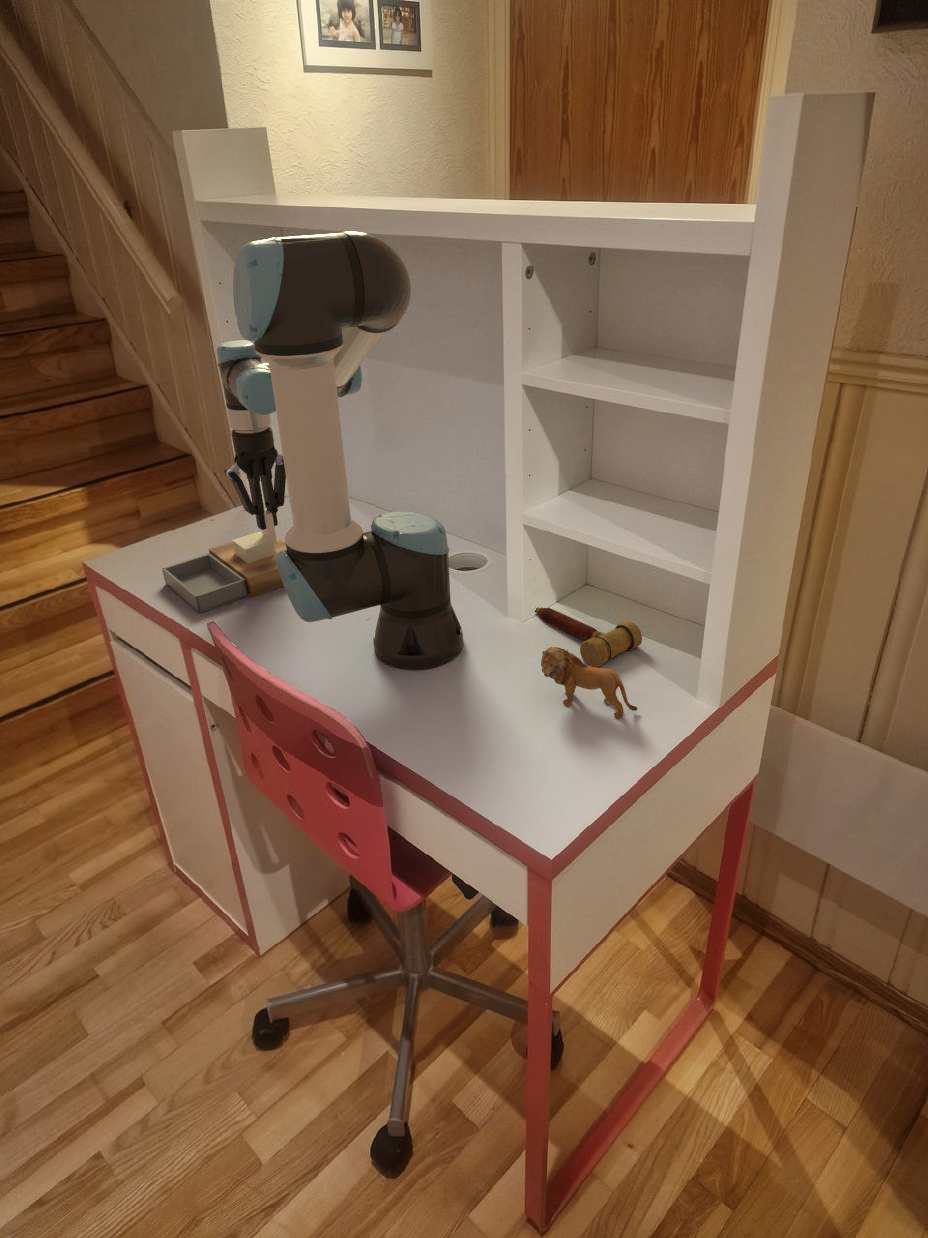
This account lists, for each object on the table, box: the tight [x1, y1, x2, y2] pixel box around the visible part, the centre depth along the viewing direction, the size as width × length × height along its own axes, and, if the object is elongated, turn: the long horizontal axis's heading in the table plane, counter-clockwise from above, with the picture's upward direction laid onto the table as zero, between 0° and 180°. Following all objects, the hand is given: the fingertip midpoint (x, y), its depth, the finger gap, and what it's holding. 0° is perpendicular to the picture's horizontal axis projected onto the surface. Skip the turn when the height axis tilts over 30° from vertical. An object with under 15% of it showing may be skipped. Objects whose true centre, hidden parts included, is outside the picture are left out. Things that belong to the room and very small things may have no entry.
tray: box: [161, 552, 249, 614], centre depth 164 cm, size 16×10×4 cm, turn 39°
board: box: [208, 531, 286, 598], centre depth 170 cm, size 18×13×4 cm
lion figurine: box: [540, 646, 638, 719], centre depth 125 cm, size 15×5×9 cm, turn 71°
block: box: [231, 531, 275, 563], centre depth 168 cm, size 6×6×3 cm
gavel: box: [534, 606, 643, 668], centre depth 144 cm, size 21×5×10 cm
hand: (270, 542), depth 170 cm, fingers closed
